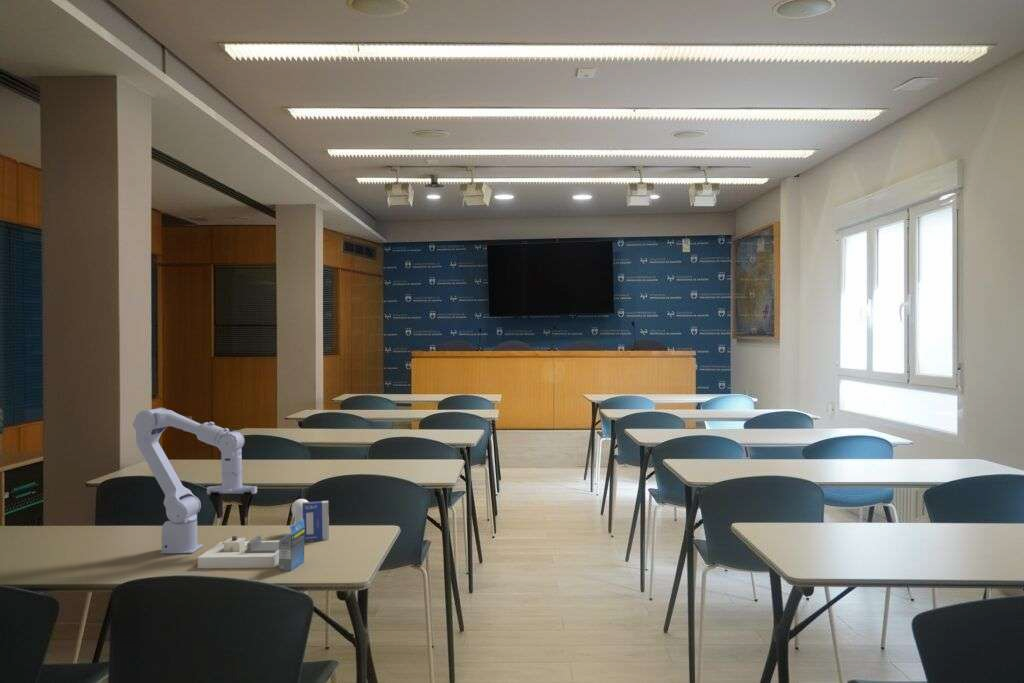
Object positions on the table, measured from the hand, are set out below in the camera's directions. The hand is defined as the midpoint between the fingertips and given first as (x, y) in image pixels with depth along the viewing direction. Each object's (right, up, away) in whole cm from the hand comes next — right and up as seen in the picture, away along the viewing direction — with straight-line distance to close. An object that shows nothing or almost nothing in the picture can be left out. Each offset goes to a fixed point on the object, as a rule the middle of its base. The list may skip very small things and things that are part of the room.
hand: (232, 517), depth 222 cm
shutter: (+13, -7, -9) cm, 17 cm away
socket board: (+7, -10, -9) cm, 15 cm away
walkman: (+22, -10, +10) cm, 26 cm away
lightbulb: (+15, -10, +19) cm, 26 cm away
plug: (+4, -10, -9) cm, 14 cm away
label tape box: (+23, -10, -17) cm, 30 cm away
